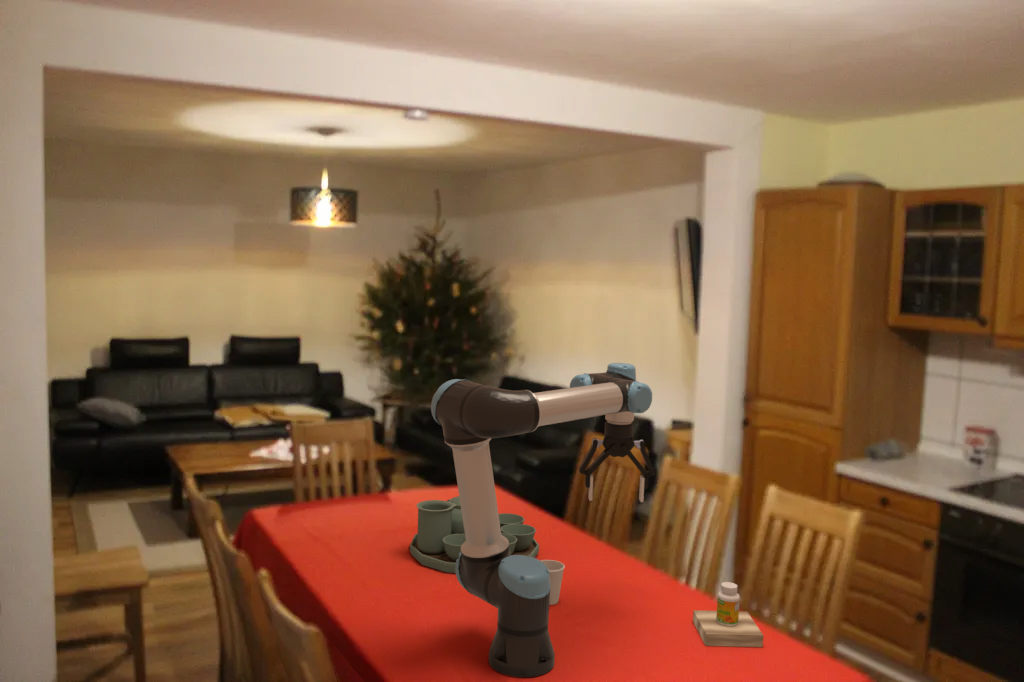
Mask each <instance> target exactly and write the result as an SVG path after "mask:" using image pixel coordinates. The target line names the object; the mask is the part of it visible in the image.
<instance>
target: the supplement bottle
mask: <svg viewBox="0 0 1024 682" xmlns="http://www.w3.org/2000/svg"><path fill="white" fill-rule="evenodd" d="M720 584H721V585H720V591H719V592H718V593H717V599H716V601H717V602H716V611H717V615H716V621H717V622H718V623H719V624H721V625H724V626H736V625H737V624H738V619H739V611H740V598H741V597H740V594H739V593H738V584H736V583H733V582H729V581H723V582H722V583H720Z"/></svg>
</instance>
